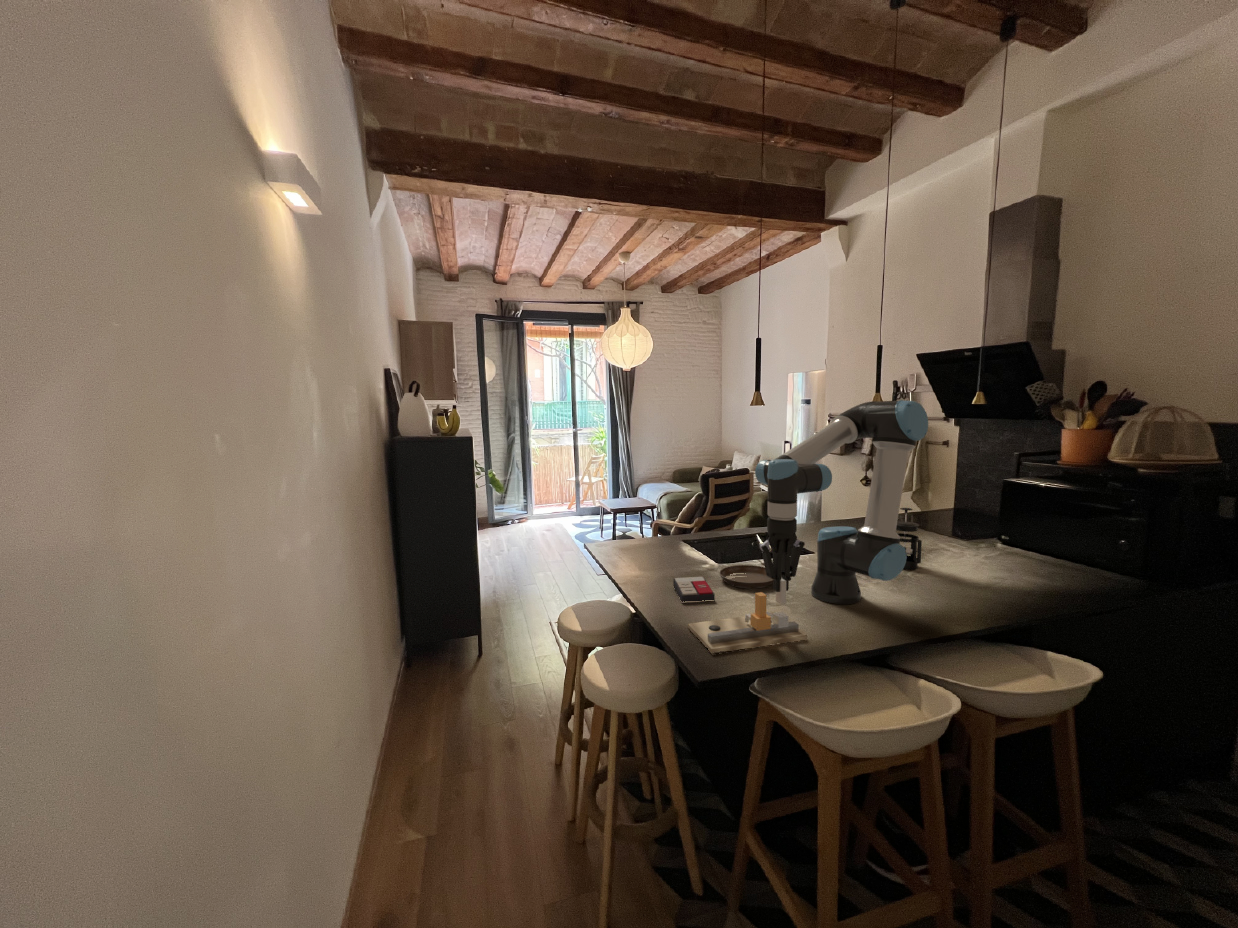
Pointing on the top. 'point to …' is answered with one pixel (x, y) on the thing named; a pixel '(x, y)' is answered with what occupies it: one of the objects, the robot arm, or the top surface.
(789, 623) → the rail
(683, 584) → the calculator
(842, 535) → the robot arm
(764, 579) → the plant saucer
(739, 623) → the hole plate
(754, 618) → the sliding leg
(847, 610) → the top surface
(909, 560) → the french press
